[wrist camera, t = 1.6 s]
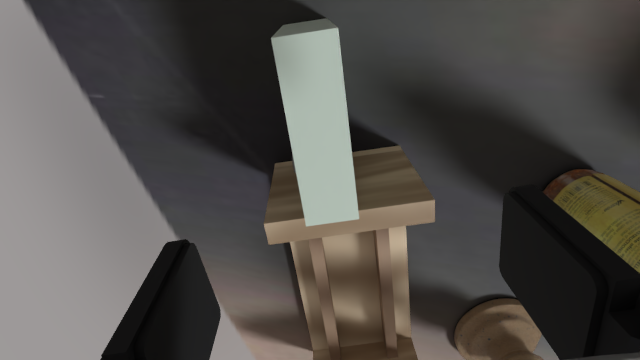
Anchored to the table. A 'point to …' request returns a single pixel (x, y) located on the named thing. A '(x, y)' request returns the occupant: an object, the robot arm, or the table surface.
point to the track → (355, 257)
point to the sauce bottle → (602, 209)
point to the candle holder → (497, 332)
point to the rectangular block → (317, 119)
